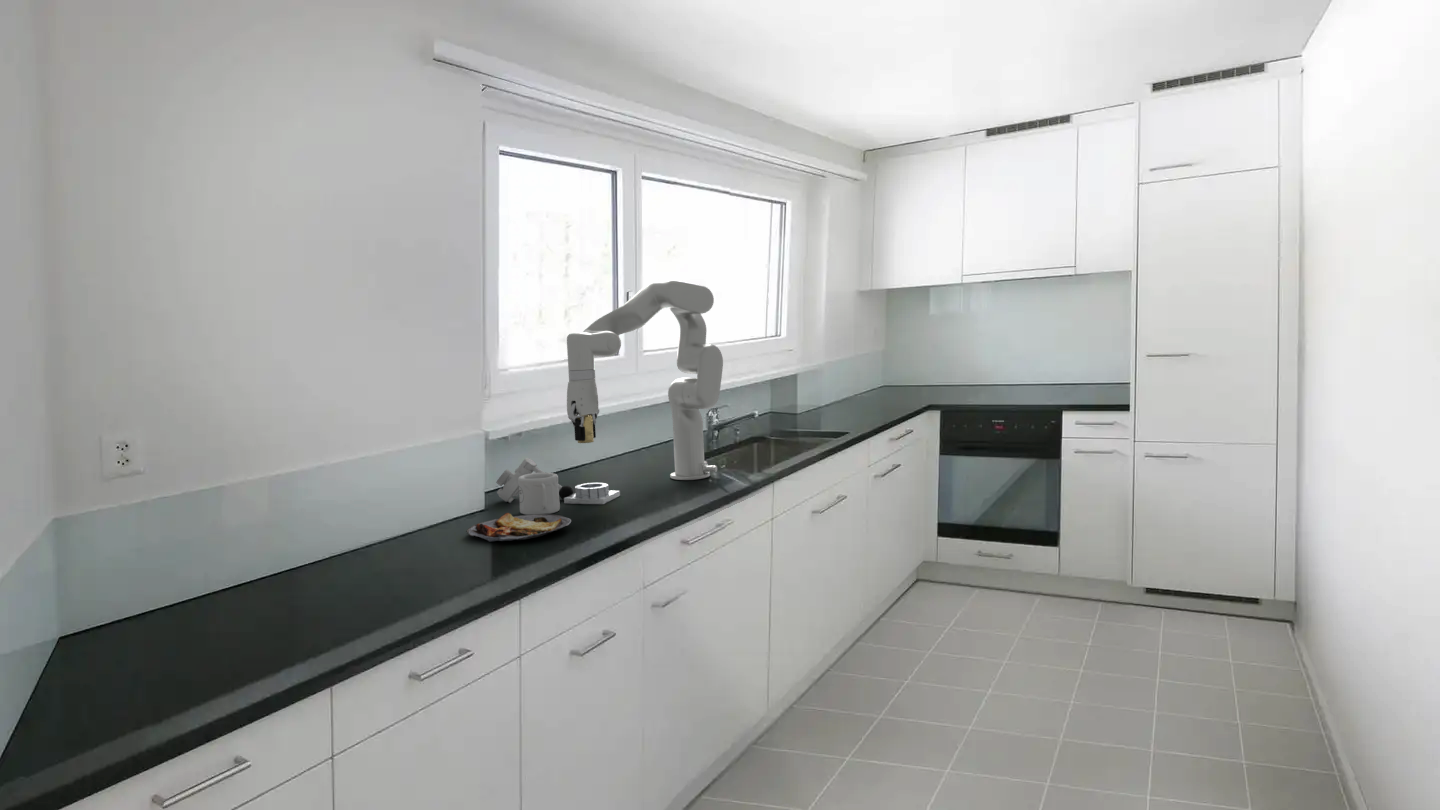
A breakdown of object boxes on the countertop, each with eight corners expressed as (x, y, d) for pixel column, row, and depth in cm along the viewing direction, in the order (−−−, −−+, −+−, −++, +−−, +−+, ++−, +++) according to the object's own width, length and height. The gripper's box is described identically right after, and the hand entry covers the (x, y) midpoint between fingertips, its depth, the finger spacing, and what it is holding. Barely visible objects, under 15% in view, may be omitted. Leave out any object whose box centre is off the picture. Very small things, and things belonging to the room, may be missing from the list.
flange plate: (620, 495, 282) (619, 482, 282) (603, 504, 271) (602, 490, 271) (582, 495, 286) (581, 481, 286) (564, 503, 275) (563, 489, 274)
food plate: (448, 540, 236) (447, 526, 236) (514, 520, 256) (513, 507, 256) (525, 549, 224) (524, 534, 223) (588, 527, 243) (588, 514, 243)
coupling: (583, 440, 282) (582, 415, 282) (596, 441, 280) (595, 415, 280) (574, 442, 278) (573, 417, 278) (588, 443, 276) (586, 417, 276)
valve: (541, 536, 278) (572, 496, 275) (486, 493, 277) (516, 453, 274) (550, 525, 288) (579, 487, 285) (496, 484, 287) (526, 445, 284)
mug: (516, 510, 268) (514, 474, 267) (555, 506, 272) (553, 470, 271) (526, 519, 255) (523, 482, 254) (566, 514, 259) (564, 477, 258)
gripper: (587, 373, 287) (590, 434, 288) (553, 378, 271) (557, 443, 273) (608, 373, 283) (612, 435, 285) (576, 378, 268) (580, 443, 270)
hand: (585, 438), depth 279 cm, fingers closed on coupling, 4 cm apart
